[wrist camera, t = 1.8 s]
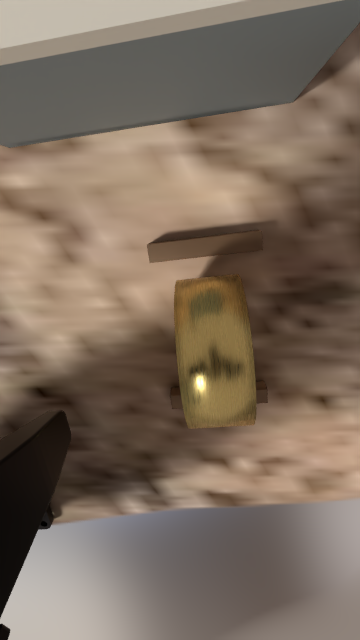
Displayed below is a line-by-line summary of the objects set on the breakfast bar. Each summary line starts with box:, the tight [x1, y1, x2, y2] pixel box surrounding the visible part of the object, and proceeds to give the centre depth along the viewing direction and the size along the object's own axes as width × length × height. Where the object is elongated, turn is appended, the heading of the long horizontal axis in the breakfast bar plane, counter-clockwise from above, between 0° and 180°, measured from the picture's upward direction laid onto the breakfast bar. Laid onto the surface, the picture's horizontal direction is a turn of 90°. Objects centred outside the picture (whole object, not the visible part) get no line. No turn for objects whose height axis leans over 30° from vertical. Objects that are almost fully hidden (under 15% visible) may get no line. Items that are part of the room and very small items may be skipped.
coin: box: [174, 274, 256, 429], centre depth 13 cm, size 6×2×6 cm, turn 7°
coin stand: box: [147, 230, 268, 409], centre depth 15 cm, size 9×5×1 cm, turn 7°
